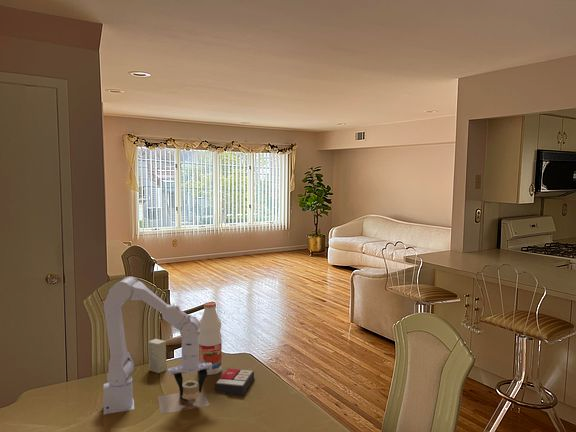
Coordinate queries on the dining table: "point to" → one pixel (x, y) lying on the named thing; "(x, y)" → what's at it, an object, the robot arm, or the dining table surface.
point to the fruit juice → (210, 339)
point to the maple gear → (190, 390)
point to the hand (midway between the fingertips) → (190, 392)
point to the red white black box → (234, 382)
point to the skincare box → (157, 355)
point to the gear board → (181, 402)
